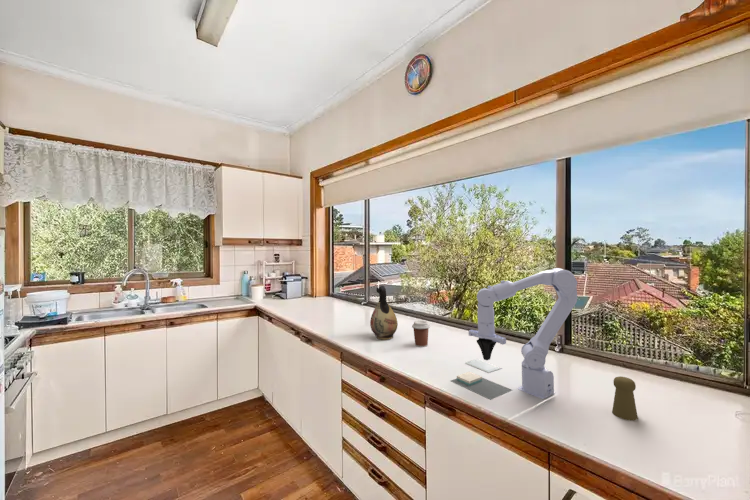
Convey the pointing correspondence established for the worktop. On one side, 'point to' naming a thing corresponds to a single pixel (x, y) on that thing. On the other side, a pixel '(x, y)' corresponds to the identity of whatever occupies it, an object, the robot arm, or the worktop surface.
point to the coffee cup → (421, 333)
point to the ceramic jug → (383, 318)
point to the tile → (469, 378)
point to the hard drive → (483, 365)
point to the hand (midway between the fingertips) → (486, 359)
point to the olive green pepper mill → (624, 399)
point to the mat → (485, 388)
